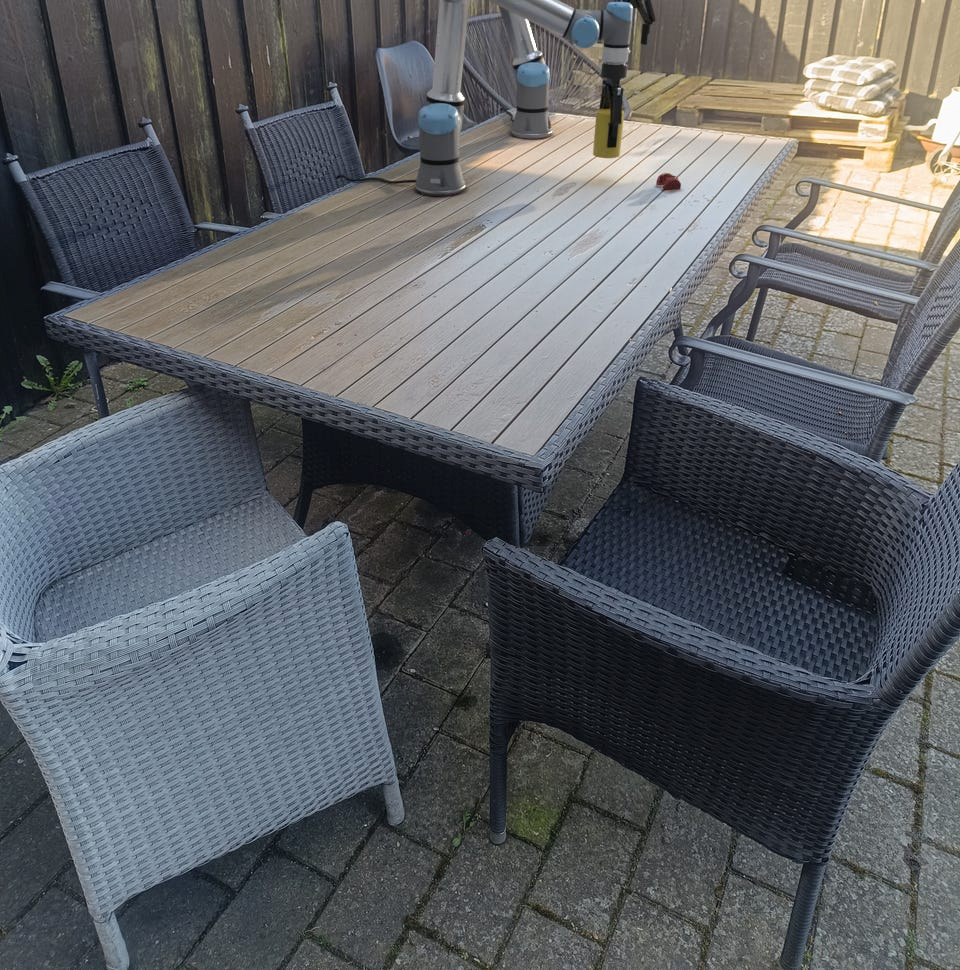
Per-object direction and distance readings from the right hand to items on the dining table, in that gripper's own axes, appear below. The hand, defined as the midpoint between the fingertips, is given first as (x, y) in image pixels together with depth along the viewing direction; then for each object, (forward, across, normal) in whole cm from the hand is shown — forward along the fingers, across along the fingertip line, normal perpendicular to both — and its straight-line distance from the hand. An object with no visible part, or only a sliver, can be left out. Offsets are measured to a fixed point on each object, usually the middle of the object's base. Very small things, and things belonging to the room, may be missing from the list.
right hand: (628, 45), depth 308 cm
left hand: (+17, -44, -56) cm, 74 cm away
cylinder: (+20, -44, -56) cm, 75 cm away
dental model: (+28, -32, -73) cm, 84 cm away
